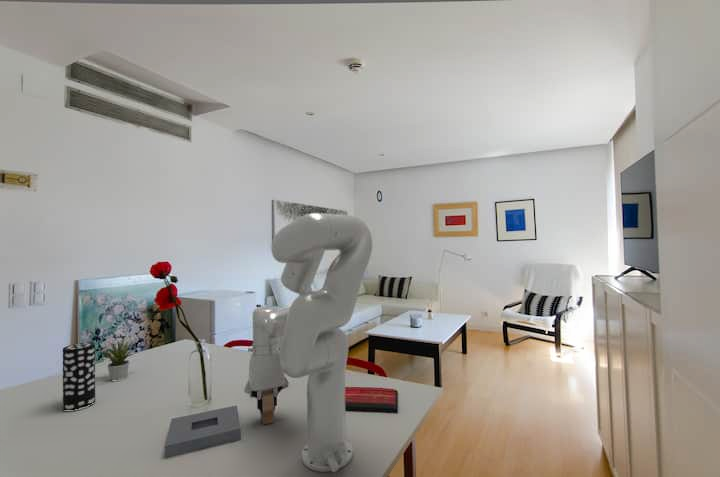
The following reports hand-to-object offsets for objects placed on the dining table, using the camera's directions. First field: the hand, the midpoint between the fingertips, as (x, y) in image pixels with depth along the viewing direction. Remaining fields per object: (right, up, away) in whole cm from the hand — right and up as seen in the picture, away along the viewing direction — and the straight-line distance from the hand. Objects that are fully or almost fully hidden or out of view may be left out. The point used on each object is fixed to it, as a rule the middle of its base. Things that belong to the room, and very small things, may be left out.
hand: (267, 409), depth 99 cm
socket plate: (-15, -3, -7) cm, 17 cm away
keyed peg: (0, -3, 0) cm, 3 cm away
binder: (+30, -3, +11) cm, 32 cm away
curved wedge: (-6, -4, +20) cm, 22 cm away
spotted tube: (-67, -5, +12) cm, 68 cm away
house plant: (-70, -6, +36) cm, 78 cm away
